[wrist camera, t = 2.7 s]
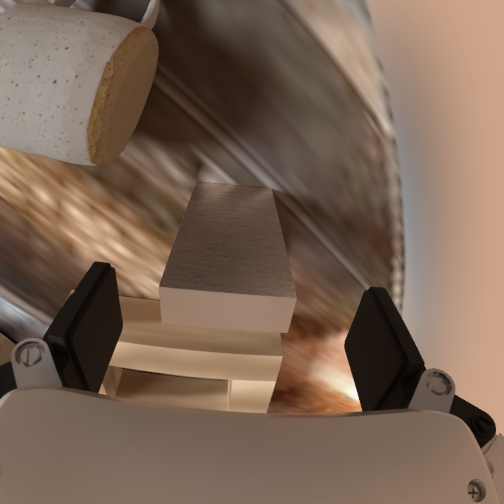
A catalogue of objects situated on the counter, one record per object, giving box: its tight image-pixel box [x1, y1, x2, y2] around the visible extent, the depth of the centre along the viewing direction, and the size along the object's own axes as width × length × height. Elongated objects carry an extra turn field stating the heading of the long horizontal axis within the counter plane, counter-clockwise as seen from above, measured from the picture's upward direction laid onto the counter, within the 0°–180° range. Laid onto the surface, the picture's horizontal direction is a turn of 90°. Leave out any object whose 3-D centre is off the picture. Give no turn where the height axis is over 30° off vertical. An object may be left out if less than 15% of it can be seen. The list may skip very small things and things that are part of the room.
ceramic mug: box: [0, 0, 160, 166], centre depth 11 cm, size 11×8×8 cm
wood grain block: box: [159, 182, 297, 333], centre depth 16 cm, size 4×4×10 cm
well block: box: [61, 290, 283, 413], centre depth 24 cm, size 12×16×4 cm
